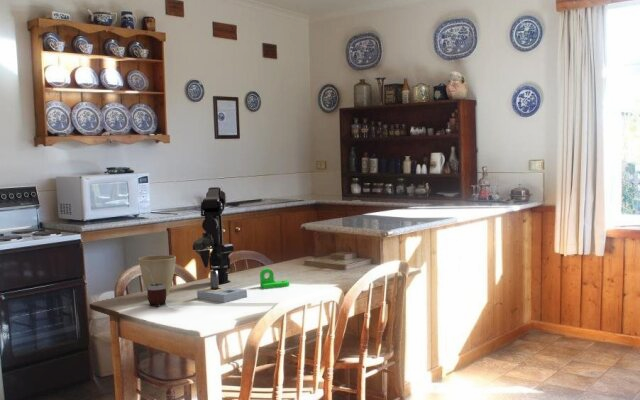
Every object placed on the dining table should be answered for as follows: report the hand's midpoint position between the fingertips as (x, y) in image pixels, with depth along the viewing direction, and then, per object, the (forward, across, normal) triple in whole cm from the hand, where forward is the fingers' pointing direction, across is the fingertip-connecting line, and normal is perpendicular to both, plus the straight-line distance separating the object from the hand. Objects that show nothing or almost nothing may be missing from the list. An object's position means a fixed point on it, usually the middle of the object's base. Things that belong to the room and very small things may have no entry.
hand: (213, 268), depth 264 cm
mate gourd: (+12, -8, -23) cm, 27 cm away
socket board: (+12, +4, 0) cm, 12 cm away
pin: (+11, 0, 0) cm, 11 cm away
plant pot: (+12, -22, -11) cm, 27 cm away
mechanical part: (+12, +7, +28) cm, 31 cm away
